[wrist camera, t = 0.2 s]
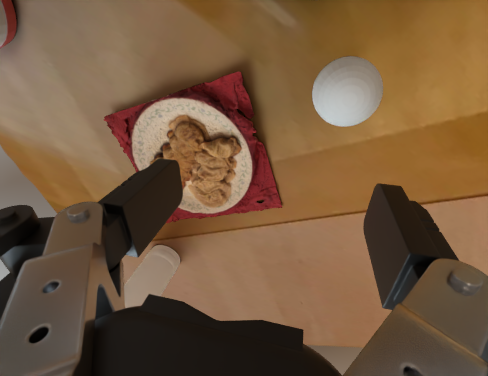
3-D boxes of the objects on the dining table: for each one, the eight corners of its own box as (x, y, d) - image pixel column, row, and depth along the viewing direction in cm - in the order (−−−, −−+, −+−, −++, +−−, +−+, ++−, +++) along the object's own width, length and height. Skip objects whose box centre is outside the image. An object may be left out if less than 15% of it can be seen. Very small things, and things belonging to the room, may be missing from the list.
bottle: (163, 239, 58) (51, 391, 34) (187, 261, 60) (98, 419, 36) (145, 251, 62) (33, 395, 38) (168, 271, 64) (76, 420, 40)
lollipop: (371, 74, 32) (407, 100, 20) (333, 108, 35) (344, 148, 23) (339, 37, 31) (356, 40, 18) (303, 75, 34) (296, 99, 22)
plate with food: (110, 113, 44) (96, 119, 42) (242, 69, 35) (235, 73, 32) (168, 218, 55) (160, 229, 52) (282, 206, 46) (279, 218, 43)
